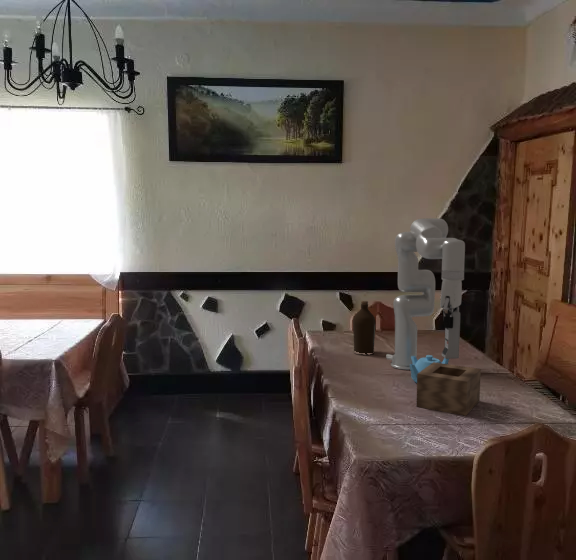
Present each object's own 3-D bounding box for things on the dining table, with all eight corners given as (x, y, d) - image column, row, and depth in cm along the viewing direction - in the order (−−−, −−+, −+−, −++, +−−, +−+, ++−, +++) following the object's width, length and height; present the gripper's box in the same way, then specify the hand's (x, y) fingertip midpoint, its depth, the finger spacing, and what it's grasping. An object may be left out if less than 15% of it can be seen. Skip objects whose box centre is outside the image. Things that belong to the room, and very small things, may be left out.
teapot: (407, 385, 236) (407, 359, 235) (410, 374, 250) (411, 349, 249) (447, 389, 232) (447, 362, 230) (448, 377, 246) (449, 352, 245)
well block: (416, 406, 212) (417, 373, 211) (432, 392, 227) (433, 362, 225) (465, 415, 203) (467, 381, 201) (479, 401, 218) (480, 369, 216)
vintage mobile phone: (441, 356, 214) (443, 287, 210) (455, 355, 214) (457, 286, 211) (445, 359, 210) (447, 288, 207) (458, 358, 211) (461, 288, 207)
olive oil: (356, 356, 279) (357, 303, 276) (349, 350, 290) (350, 300, 286) (378, 355, 282) (379, 302, 278) (370, 349, 292) (371, 299, 289)
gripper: (449, 272, 218) (448, 320, 220) (434, 277, 203) (432, 329, 206) (470, 273, 214) (468, 323, 216) (456, 278, 199) (454, 332, 202)
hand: (451, 325), depth 211 cm, fingers closed on vintage mobile phone, 5 cm apart
